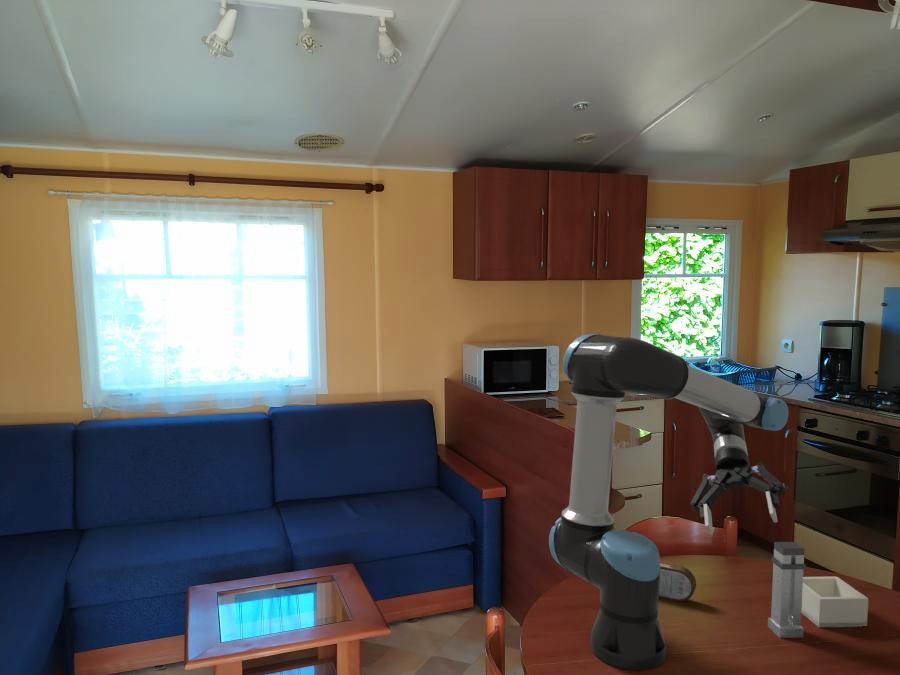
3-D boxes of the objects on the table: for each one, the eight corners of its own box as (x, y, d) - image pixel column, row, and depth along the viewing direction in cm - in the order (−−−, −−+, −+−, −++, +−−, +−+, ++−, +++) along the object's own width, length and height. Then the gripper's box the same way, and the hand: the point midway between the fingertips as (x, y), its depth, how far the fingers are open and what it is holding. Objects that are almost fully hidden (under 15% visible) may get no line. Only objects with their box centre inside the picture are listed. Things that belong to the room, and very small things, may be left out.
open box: (818, 627, 143) (820, 599, 142) (790, 603, 154) (791, 577, 153) (866, 626, 143) (868, 598, 143) (835, 602, 154) (836, 576, 154)
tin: (695, 600, 155) (696, 566, 154) (694, 606, 152) (695, 572, 152) (632, 587, 162) (633, 554, 161) (629, 592, 159) (630, 559, 158)
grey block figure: (779, 637, 138) (783, 549, 137) (767, 626, 143) (771, 541, 142) (803, 637, 139) (807, 549, 137) (790, 625, 143) (794, 540, 142)
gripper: (791, 456, 152) (808, 525, 135) (686, 480, 164) (690, 545, 147) (780, 433, 150) (796, 500, 132) (675, 458, 161) (677, 522, 144)
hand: (740, 524), depth 140 cm, fingers open, 13 cm apart
